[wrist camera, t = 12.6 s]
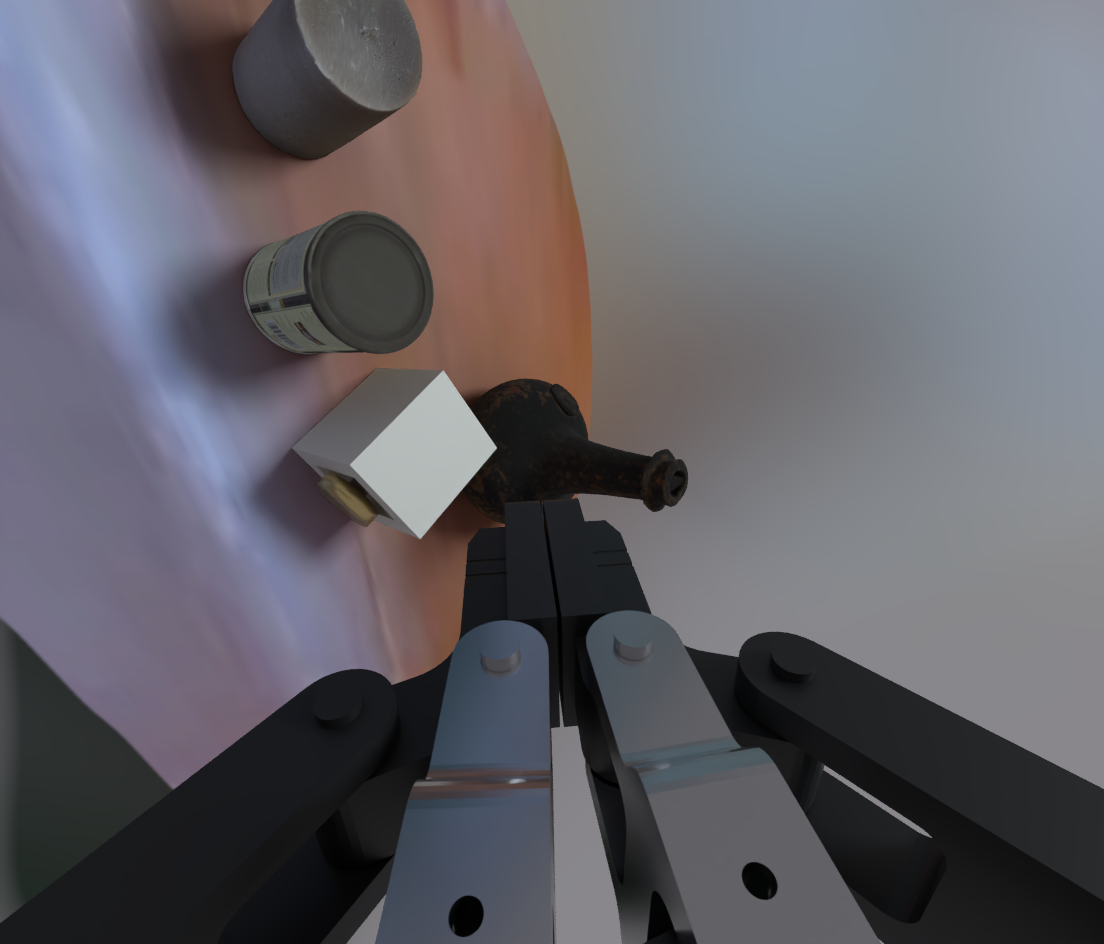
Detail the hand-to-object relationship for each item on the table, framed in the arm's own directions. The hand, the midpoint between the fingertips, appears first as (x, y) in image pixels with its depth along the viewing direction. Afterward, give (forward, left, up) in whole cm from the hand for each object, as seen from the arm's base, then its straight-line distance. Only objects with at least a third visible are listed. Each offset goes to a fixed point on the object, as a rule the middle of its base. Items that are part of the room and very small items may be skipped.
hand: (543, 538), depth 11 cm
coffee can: (+14, +10, -46) cm, 49 cm away
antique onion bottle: (+37, -6, -46) cm, 60 cm away
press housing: (+20, -4, -46) cm, 50 cm away
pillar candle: (+14, +27, -46) cm, 55 cm away
